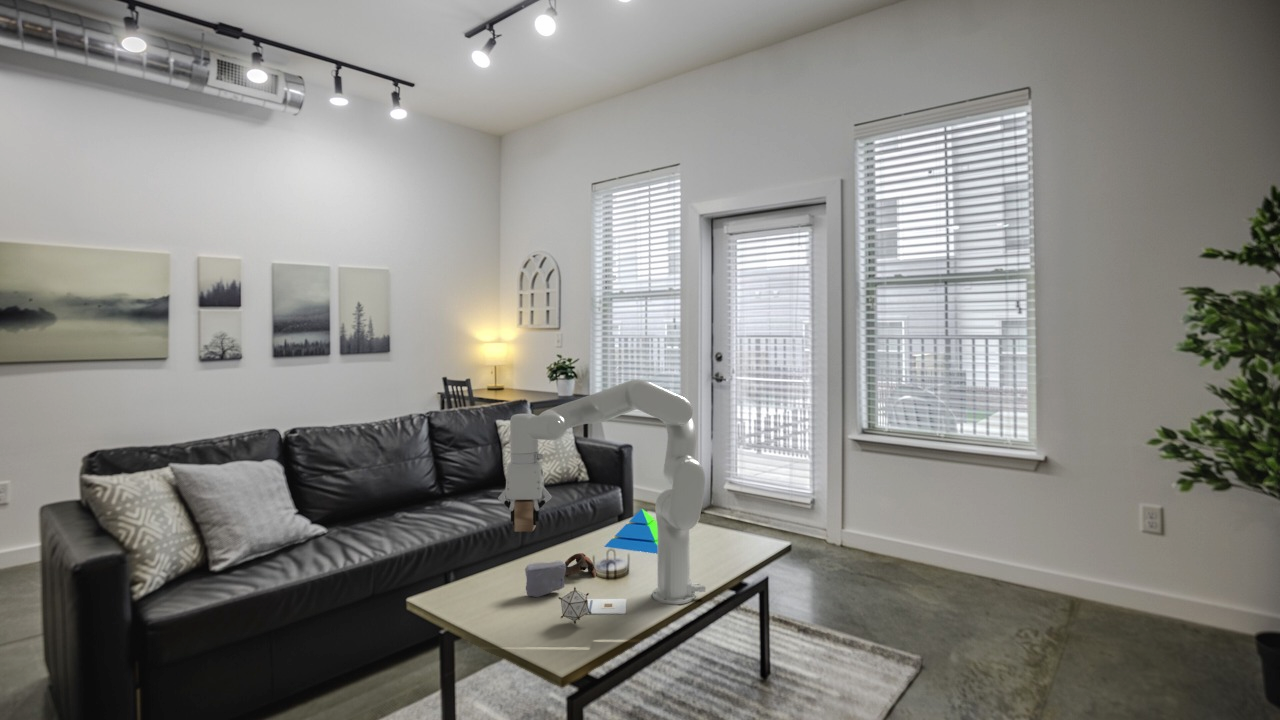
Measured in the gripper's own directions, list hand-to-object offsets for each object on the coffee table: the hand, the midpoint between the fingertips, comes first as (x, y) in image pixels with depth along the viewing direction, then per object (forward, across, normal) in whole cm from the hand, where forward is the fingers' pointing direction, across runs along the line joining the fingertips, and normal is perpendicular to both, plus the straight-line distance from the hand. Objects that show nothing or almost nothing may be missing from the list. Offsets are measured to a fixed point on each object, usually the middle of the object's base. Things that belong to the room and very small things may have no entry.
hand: (525, 523), depth 173 cm
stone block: (+25, -4, -12) cm, 28 cm away
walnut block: (+2, 0, 0) cm, 2 cm away
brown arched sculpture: (+26, -14, -30) cm, 42 cm away
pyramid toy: (+26, -33, -63) cm, 76 cm away
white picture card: (+25, -22, -4) cm, 33 cm away
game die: (+25, -14, +8) cm, 30 cm away
